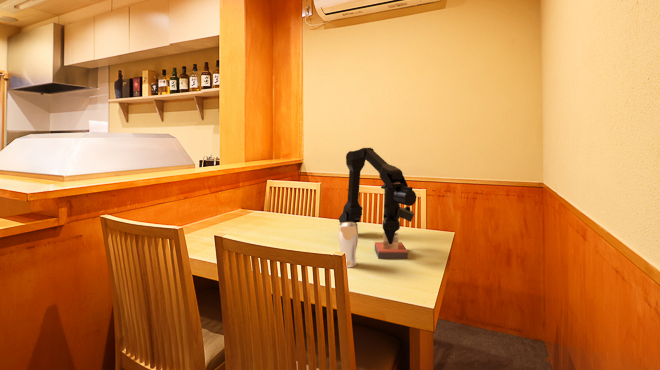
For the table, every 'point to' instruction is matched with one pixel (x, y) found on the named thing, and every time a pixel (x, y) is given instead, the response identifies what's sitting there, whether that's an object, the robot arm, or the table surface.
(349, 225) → the beer glass
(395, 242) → the masu
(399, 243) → the red square block
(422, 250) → the table surface
